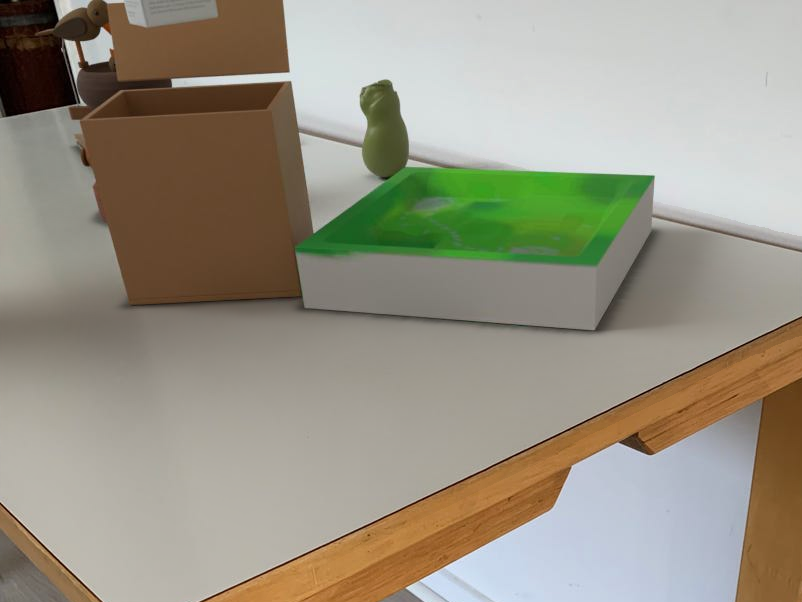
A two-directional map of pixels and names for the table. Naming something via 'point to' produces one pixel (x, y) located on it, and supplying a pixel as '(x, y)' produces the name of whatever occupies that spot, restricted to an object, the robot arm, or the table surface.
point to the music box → (94, 68)
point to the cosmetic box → (169, 11)
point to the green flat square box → (482, 246)
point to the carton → (202, 190)
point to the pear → (383, 130)
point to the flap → (203, 43)
